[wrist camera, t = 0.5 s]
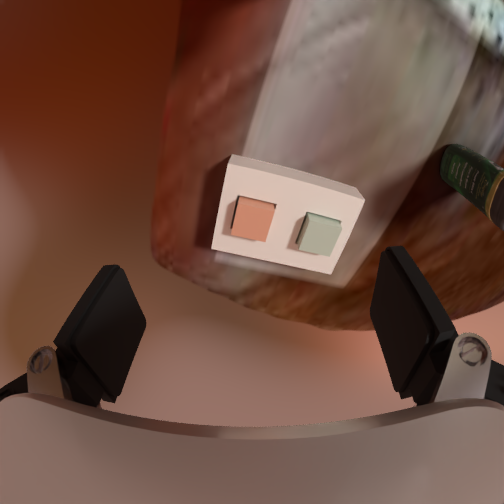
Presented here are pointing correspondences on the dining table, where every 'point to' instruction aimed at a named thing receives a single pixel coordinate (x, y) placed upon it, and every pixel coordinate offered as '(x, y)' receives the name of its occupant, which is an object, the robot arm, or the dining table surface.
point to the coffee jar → (475, 180)
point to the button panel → (284, 211)
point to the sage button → (318, 234)
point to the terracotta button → (253, 218)
